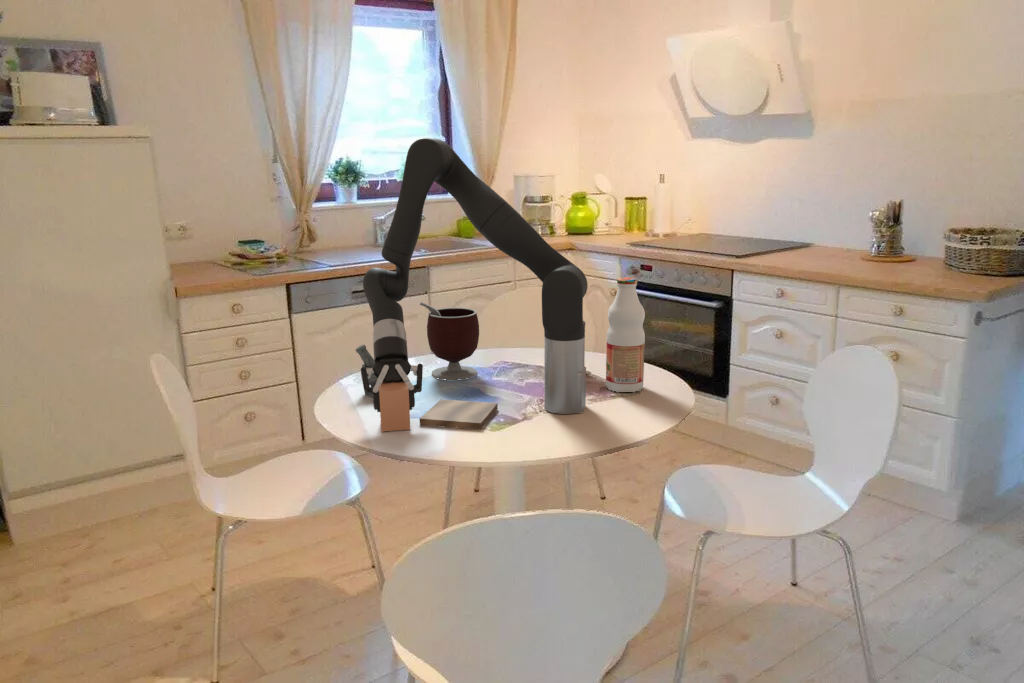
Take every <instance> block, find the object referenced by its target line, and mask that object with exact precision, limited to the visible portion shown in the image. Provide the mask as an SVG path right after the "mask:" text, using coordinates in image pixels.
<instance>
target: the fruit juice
mask: <svg viewBox="0 0 1024 683" xmlns="http://www.w3.org/2000/svg"><path fill="white" fill-rule="evenodd" d="M616 285H617V292H616V294H615V297H614V299H613V300H614V301H613V302H612V303H611V304H610V306H609V308H608V310H607V319H608V324H609V325H608V326H609V327H608V329H607V330H606V348H605V349H606V351H605V352H606V357H605V362H606V363H605V387H606V388H608V389H607V390H608V391H611V390H612V391H611V392H614V391H616V392H615V393H619V392H633V393H636V392H635V391H638V392H640V391H641V389H642V390H643V388H644V375H645V374H644V371H645V345H646V344H645V343H646V337H645V330H644V327H643V325H644V320H645V318H646V313H645V308H644V307H643V305H642V303H641V301H640V299H639V296H638V293H637V286H638V279H637V278H635V277H632V276H631V277H630V276H629V277H624V276H622V277H618V278H617V279H616ZM639 390H640V391H639Z"/></svg>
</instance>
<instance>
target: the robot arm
mask: <svg viewBox="0 0 1024 683" xmlns="http://www.w3.org/2000/svg"><path fill="white" fill-rule="evenodd" d="M402 175H403V176H402V181H401V186H400V189H399V190H400V191H399V193H398V194H399V195H398V200H397V203H396V206H395V210H394V214H393V218H392V219H391V223H390V226H389V228H388V230H387V235H386V237H385V240H384V244H383V245H382V250H381V257H382V258H383V259H384V260H385V261H387V262H389V263H391V264H393V265H395V270H394V271H392V270H389V269H385V268H380V267H372V268H369V269H368V270H367V271H366V273H365V274H364V276H363V280H362V288H363V293H364V295H365V298H366V300H367V304H368V305H369V308H370V311H371V313H372V324H373V325H372V326H373V327H372V328H373V329H372V330H373V332H372V346H373V348H372V349H373V359H374V366H373V368H368V369H366V368H365V367H362V366H361V367H360V376H361V382H362V385H363V386H362V388H363V391H364V395H365V396H367V397H369V396H371V397H372V398H373V400H372V401H373V409H374V411H377V413H380V398H379V386H381V385H382V384H383V383H392V382H403V383H405V384H408V389H409V409H410V411H412V410H413V408H415V406H416V399H415V397H416V396H415V395H416V393H421V392H422V389H423V372H424V371H423V370H424V369H423V368H424V365H423V364H422V363H418V364H417V365H415V364H414V365H411V363H410V362H409V354H408V341H407V333H406V329H405V320H404V311H403V307H402V305H401V304H400V303H399V302H400V301H402V300H403V299H405V296H406V295H407V293H408V291H409V290H408V289H409V282H410V281H409V280H410V279H409V278H410V277H409V276H410V267H411V262H412V261H411V260H412V257H413V254H414V251H415V249H416V246H417V242H418V240H419V237H420V232H421V229H422V219H423V212H424V206H425V202H426V200H427V197H428V194H429V191H430V189H431V187H432V185H433V183H434V182H435V183H436V184H437V185H438V186H440V187H441V188H443V189H444V190H445V191H446V192H447V193H449V194H450V195H451V196H452V197H453V198H454V200H455V201H456V202H457V203H458V204H459V207H460V208H461V209H462V211H463V212H464V214H465V217H467V219H468V220H469V222H470V223H471V224H472V226H473V227H474V228H475V229H476V230H477V231H478V232H479V233H480V234H481V235H482V236H483V237H484V238H485V239H486V240H487V241H488V242H489V243H490V244H492V245H493V246H494V247H495V248H497V249H498V250H499V251H501V252H502V253H503V254H505V255H507V256H508V257H511V258H512V259H514V260H516V261H517V262H519V263H520V264H522V265H524V266H525V267H526V268H528V269H529V270H530V271H531V272H532V273H533V274H535V276H536V277H537V278H538V279H539V280H540V281H541V282H542V286H541V322H542V326H543V330H544V333H543V335H544V346H543V347H544V356H543V357H544V363H543V364H544V369H543V370H544V371H543V372H544V373H543V374H544V376H543V377H544V378H543V380H544V387H543V389H544V391H543V392H544V394H543V395H544V396H543V397H544V399H543V401H544V406H543V407H544V410H545V411H547V412H550V413H551V414H559V415H571V414H582V413H583V412H584V409H585V407H586V406H587V405H586V404H587V403H586V402H587V400H586V397H587V396H586V395H587V394H586V393H587V392H586V391H587V367H586V366H585V353H586V352H585V350H586V349H585V344H586V343H585V342H586V335H585V334H586V325H585V326H584V323H583V321H584V319H583V318H584V316H583V313H584V311H583V310H584V309H583V308H584V307H583V306H584V300H583V299H584V297H585V296H586V294H587V291H588V288H589V287H588V284H589V283H588V280H587V277H586V275H585V273H584V272H583V271H582V269H580V267H578V265H575V264H574V263H573V262H571V261H570V260H569V259H568V258H566V257H565V256H563V255H562V254H561V253H560V252H558V251H557V250H556V249H555V248H553V247H552V246H551V245H550V244H549V243H548V242H547V241H546V240H545V239H544V238H543V237H542V236H541V235H540V234H539V232H537V230H536V229H535V228H534V227H533V226H532V225H531V224H530V223H529V222H528V221H527V220H526V219H525V218H524V217H522V215H521V213H520V212H518V211H517V210H516V209H515V208H514V207H513V206H512V205H510V204H509V203H508V201H506V199H504V198H503V197H502V196H501V195H499V193H497V192H496V191H495V190H494V189H493V188H491V187H490V186H489V185H488V184H487V183H485V181H483V180H482V179H481V178H479V177H478V176H477V175H476V174H475V173H474V172H473V171H472V170H471V168H469V167H468V166H467V165H466V163H465V162H464V161H463V160H462V158H460V156H459V155H458V154H457V153H456V151H455V150H454V149H453V148H452V147H451V146H450V145H449V144H448V143H447V142H446V141H445V140H442V139H439V138H435V137H434V138H433V137H421V138H419V139H416V140H415V141H413V142H412V143H411V144H410V146H409V148H408V150H407V154H406V158H405V163H404V170H403V174H402ZM410 372H412V373H413V375H414V376H416V384H412V382H411V380H410V377H408V375H409V374H410ZM372 373H373V374H374V375H375V376H376V377H377V378H378V379H377V382H376V384H375V386H374V388H371V386H370V385H369V381H368V379H369V378H370V377H371V374H372Z"/></svg>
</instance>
